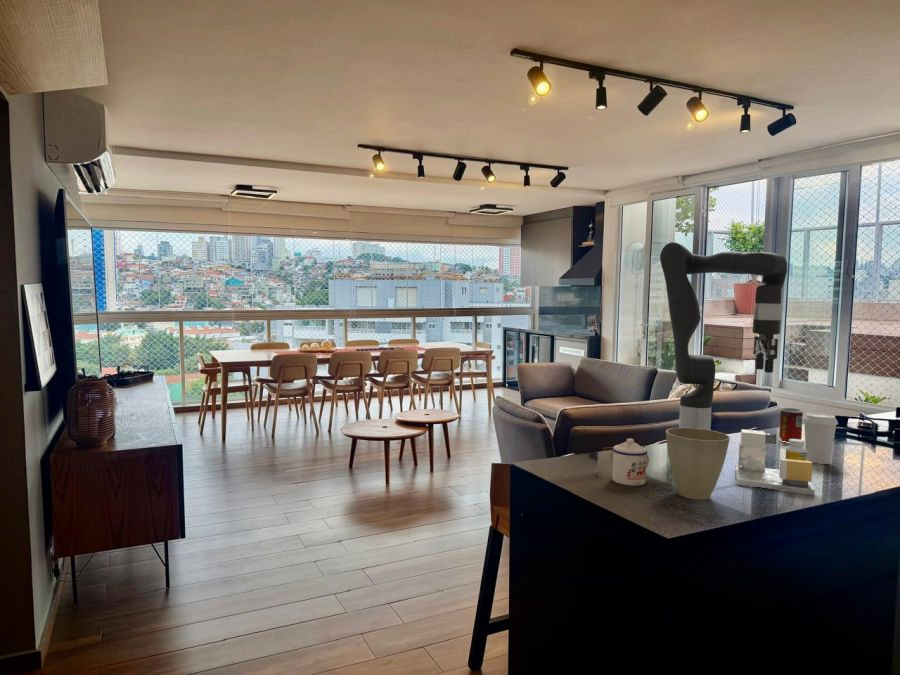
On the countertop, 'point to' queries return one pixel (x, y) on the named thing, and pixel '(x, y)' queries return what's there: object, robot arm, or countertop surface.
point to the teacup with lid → (629, 463)
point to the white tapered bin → (819, 437)
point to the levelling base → (770, 484)
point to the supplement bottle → (796, 450)
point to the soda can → (790, 424)
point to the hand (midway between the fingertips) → (763, 370)
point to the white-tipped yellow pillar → (795, 472)
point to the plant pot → (696, 460)
